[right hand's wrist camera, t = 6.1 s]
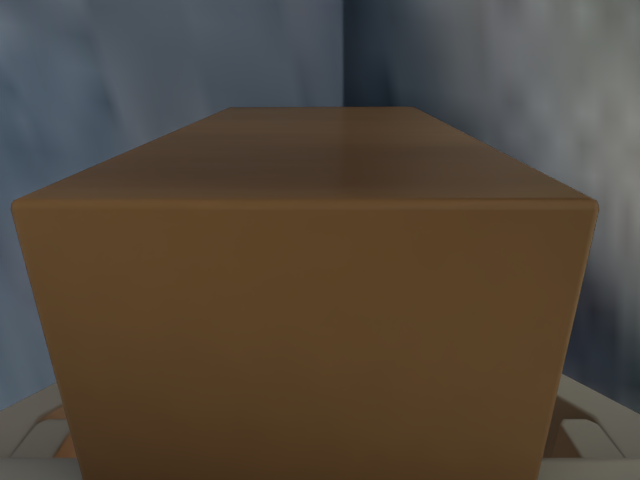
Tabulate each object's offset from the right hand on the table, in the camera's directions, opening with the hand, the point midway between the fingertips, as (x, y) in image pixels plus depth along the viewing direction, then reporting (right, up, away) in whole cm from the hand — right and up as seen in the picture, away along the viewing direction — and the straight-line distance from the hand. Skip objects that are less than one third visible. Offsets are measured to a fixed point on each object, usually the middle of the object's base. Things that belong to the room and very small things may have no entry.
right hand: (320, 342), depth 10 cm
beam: (0, -23, +13) cm, 27 cm away
